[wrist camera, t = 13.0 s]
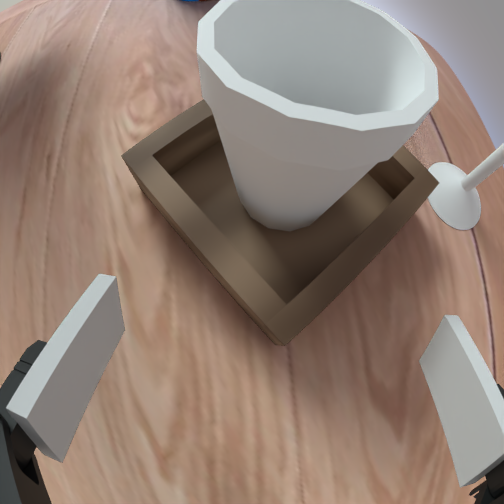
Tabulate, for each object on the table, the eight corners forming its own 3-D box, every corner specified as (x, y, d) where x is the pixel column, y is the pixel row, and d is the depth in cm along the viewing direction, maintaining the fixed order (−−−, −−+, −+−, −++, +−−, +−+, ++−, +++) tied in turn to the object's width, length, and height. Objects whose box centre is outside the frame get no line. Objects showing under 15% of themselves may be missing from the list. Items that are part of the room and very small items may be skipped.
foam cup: (238, 271, 20) (236, 157, 8) (201, 152, 23) (176, -1, 10) (368, 230, 21) (479, 117, 9) (318, 125, 24) (364, -13, 11)
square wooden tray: (139, 187, 23) (121, 155, 19) (282, 90, 26) (288, 54, 22) (275, 345, 20) (285, 345, 16) (411, 208, 23) (439, 182, 19)
